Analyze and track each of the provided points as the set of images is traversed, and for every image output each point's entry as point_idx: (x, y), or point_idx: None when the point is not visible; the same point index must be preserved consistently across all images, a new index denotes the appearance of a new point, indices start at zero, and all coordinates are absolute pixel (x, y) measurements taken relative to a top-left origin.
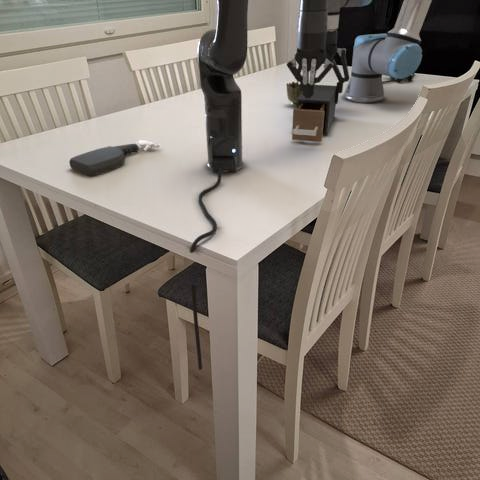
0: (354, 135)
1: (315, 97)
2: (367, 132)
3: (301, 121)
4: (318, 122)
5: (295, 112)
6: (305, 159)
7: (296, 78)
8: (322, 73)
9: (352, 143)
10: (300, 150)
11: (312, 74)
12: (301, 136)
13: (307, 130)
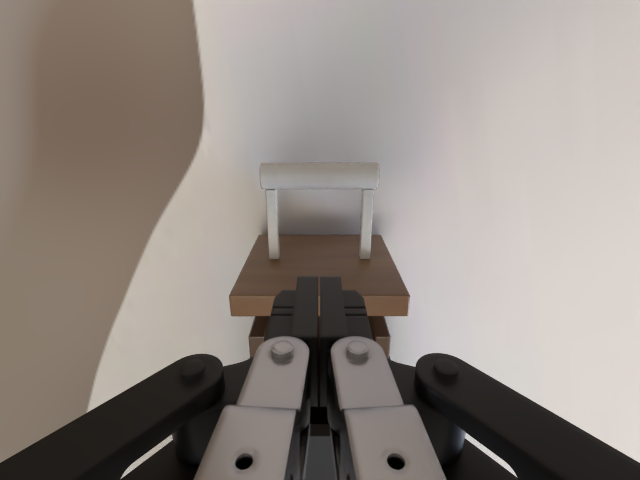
0: (164, 349)
1: (316, 478)
2: (129, 385)
3: (351, 267)
4: (264, 268)
5: (393, 287)
6: (288, 36)
7: (483, 381)
8: (90, 455)
9: (149, 270)
10: (328, 144)
11: (253, 417)
12: (342, 240)
13: (303, 173)
